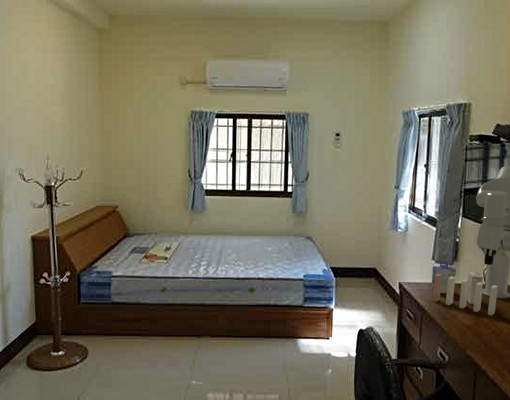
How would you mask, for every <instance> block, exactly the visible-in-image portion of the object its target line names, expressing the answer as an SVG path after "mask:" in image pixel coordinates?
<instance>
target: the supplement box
mask: <svg viewBox="0 0 510 400" xmlns="http://www.w3.org/2000/svg"><path fill="white" fill-rule="evenodd" d="M483 278H484V277H483V276H482V274H481V273H480V272H475V271H474V272H472V271H468V275H467V280H469V283H468V294H467V302H468V304H469V305H474V299H475V289H476V284H477V283H479V282H481V283H483Z"/></svg>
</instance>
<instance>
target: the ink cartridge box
mask: <svg viewBox="0 0 510 400" xmlns="http://www.w3.org/2000/svg"><path fill="white" fill-rule="evenodd" d="M456 270H457V269H456V268H454V267H453V266H449V264H448V262H447V261H439V266H438V265H437V266H436V265H433V266H432V274H431V276H432V277H431V287H430V289H431V292H433V289H434V278H435V275H437V274H442V279H441V290H440V294H447V285H448V278H450V277H455V278H456V275H457V271H456ZM455 286H456V285H455V284H454V287H455Z"/></svg>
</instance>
